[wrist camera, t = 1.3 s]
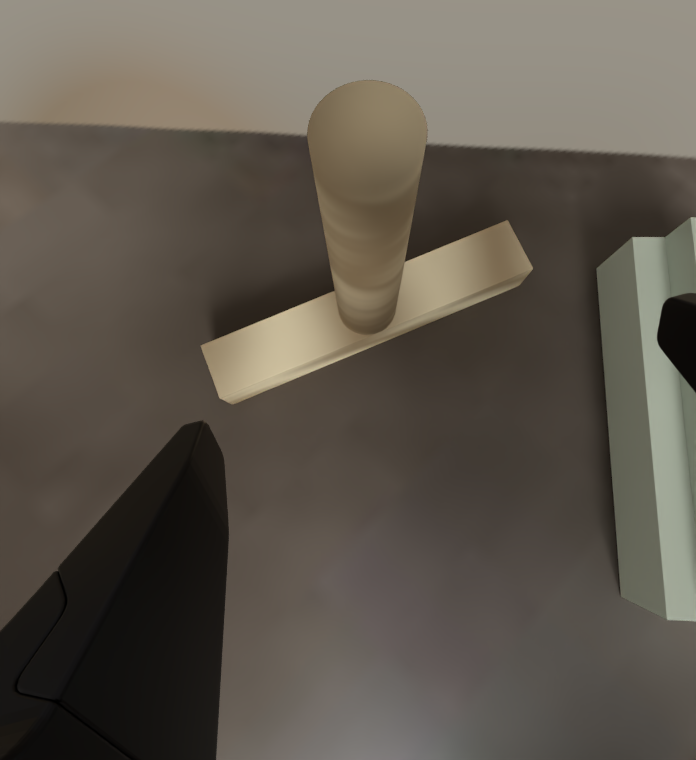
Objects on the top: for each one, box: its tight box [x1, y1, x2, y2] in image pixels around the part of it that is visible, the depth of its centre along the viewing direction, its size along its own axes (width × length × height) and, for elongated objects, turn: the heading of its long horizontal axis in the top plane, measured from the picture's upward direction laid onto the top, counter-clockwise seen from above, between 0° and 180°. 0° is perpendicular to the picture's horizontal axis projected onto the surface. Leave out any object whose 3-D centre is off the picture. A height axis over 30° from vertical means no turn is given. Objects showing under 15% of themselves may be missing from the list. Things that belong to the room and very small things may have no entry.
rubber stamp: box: [201, 80, 533, 404], centre depth 16 cm, size 14×2×12 cm, turn 113°
